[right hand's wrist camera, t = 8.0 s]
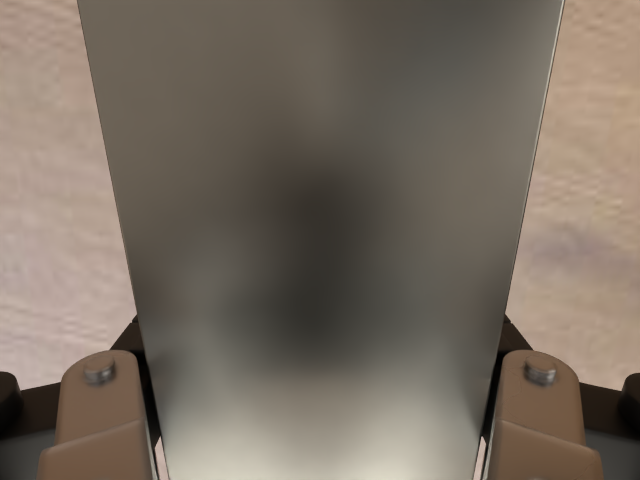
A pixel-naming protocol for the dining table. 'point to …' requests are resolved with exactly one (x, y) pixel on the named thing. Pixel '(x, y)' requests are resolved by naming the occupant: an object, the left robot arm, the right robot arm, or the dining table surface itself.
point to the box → (321, 221)
